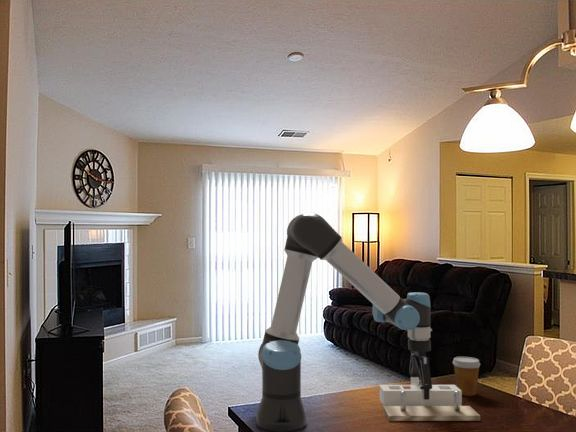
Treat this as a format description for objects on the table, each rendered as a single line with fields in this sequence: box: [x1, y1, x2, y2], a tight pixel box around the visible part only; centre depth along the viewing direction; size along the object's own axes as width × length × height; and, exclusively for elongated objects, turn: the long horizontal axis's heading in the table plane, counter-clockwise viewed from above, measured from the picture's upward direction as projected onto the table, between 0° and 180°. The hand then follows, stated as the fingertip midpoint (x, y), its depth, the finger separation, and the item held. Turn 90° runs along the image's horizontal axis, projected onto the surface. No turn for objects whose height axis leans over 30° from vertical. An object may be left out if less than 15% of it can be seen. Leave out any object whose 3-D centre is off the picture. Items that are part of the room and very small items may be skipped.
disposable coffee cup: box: [452, 356, 481, 397], centre depth 184 cm, size 10×10×12 cm
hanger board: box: [382, 405, 481, 422], centre depth 160 cm, size 28×9×2 cm, turn 91°
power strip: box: [379, 384, 463, 407], centre depth 173 cm, size 26×7×6 cm, turn 91°
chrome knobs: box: [400, 391, 460, 412], centre depth 160 cm, size 19×2×7 cm, turn 91°
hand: (420, 402), depth 173 cm, fingers open, 13 cm apart
